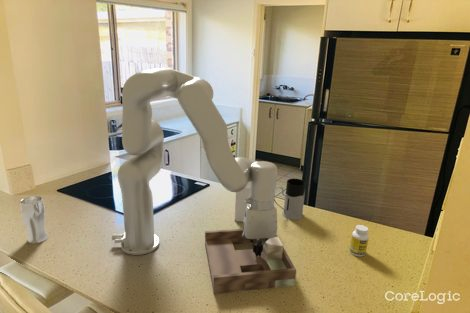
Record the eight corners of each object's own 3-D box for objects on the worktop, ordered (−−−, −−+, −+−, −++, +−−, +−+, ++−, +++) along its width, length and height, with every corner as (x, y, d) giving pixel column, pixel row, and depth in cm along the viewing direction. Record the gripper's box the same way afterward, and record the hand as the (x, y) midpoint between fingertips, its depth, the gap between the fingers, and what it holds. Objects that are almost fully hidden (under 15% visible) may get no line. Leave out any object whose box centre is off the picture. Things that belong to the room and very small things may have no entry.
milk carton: (252, 223, 129) (255, 179, 123) (234, 221, 131) (236, 177, 124) (254, 215, 136) (257, 172, 130) (237, 212, 137) (240, 170, 131)
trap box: (213, 293, 92) (214, 277, 90) (205, 245, 114) (205, 231, 112) (294, 285, 96) (296, 270, 95) (270, 240, 119) (272, 226, 117)
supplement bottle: (357, 258, 110) (362, 233, 107) (345, 250, 115) (349, 225, 112) (368, 254, 113) (373, 229, 109) (356, 246, 117) (361, 222, 114)
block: (266, 260, 103) (267, 246, 101) (262, 251, 108) (263, 238, 106) (281, 259, 104) (283, 245, 102) (276, 250, 109) (278, 237, 107)
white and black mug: (306, 218, 135) (311, 185, 130) (275, 222, 131) (278, 188, 126) (297, 209, 143) (300, 177, 138) (267, 212, 139) (269, 179, 134)
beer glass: (54, 236, 115) (47, 198, 110) (35, 246, 109) (28, 206, 104) (40, 231, 118) (34, 193, 113) (21, 241, 112) (14, 201, 107)
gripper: (239, 209, 94) (236, 262, 100) (289, 206, 97) (283, 259, 103) (235, 197, 101) (232, 248, 107) (281, 195, 104) (276, 245, 110)
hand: (257, 253), depth 105 cm, fingers closed
